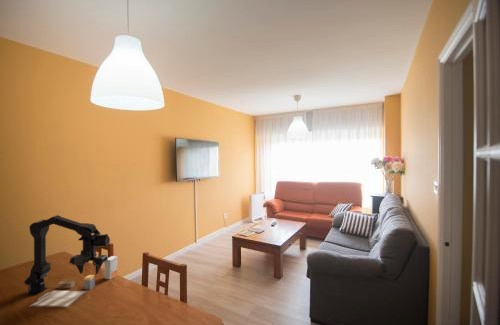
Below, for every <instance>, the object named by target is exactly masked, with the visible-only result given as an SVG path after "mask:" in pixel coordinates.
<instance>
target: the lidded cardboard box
mask: <svg viewBox="0 0 500 325" xmlns="http://www.w3.org/2000/svg"><path fill="white" fill-rule="evenodd" d="M95 286H96V280H95V274H88V275H87V276H85V277H84V279H83V287H84V288H83V289H84V290H92V289H94V287H95Z"/></svg>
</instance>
